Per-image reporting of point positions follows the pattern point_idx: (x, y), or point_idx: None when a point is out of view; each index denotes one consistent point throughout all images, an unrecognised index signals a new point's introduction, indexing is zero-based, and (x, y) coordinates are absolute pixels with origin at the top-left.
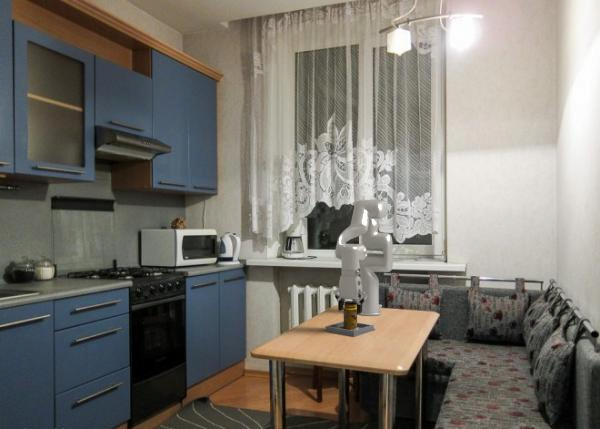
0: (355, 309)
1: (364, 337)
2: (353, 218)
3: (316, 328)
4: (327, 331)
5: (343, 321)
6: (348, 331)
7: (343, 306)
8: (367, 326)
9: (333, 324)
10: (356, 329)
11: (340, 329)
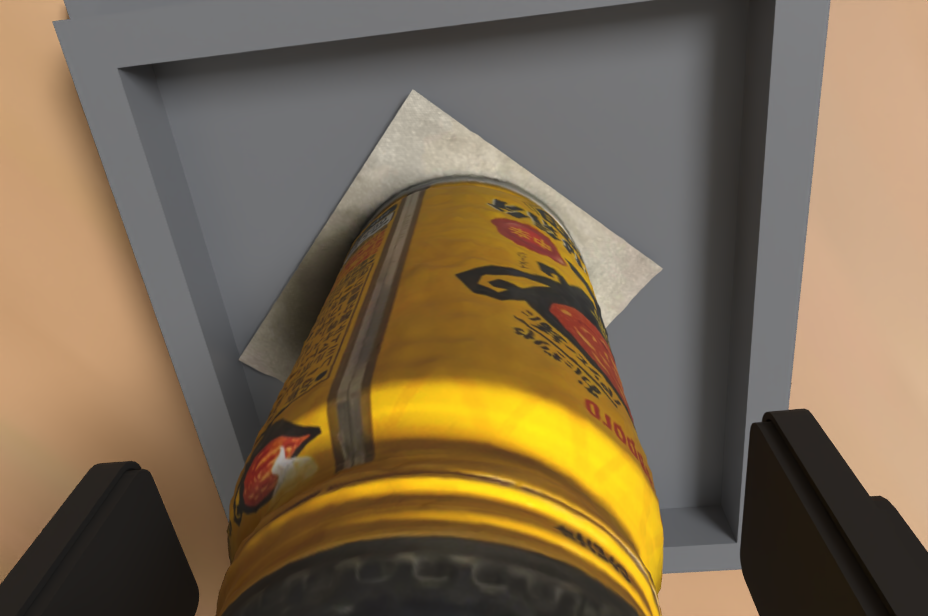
0: (661, 569)
1: (900, 468)
2: None
3: None
4: None
5: (99, 127)
6: (667, 562)
7: (98, 536)
8: (780, 144)
9: (217, 444)
10: (594, 275)
11: None
